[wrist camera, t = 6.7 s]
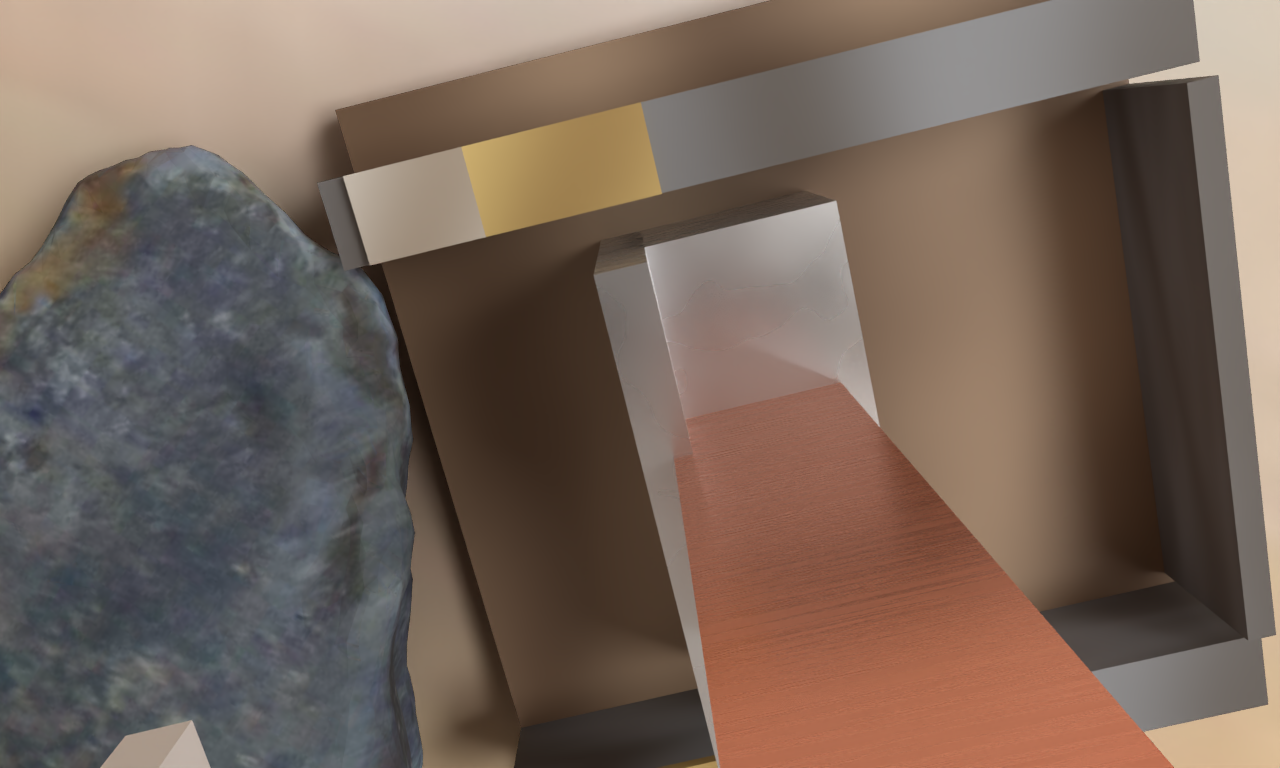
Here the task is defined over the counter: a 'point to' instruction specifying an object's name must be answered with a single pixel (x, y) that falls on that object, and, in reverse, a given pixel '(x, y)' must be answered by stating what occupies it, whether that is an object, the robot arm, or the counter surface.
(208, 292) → the rock
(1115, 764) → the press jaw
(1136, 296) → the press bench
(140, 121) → the counter surface
